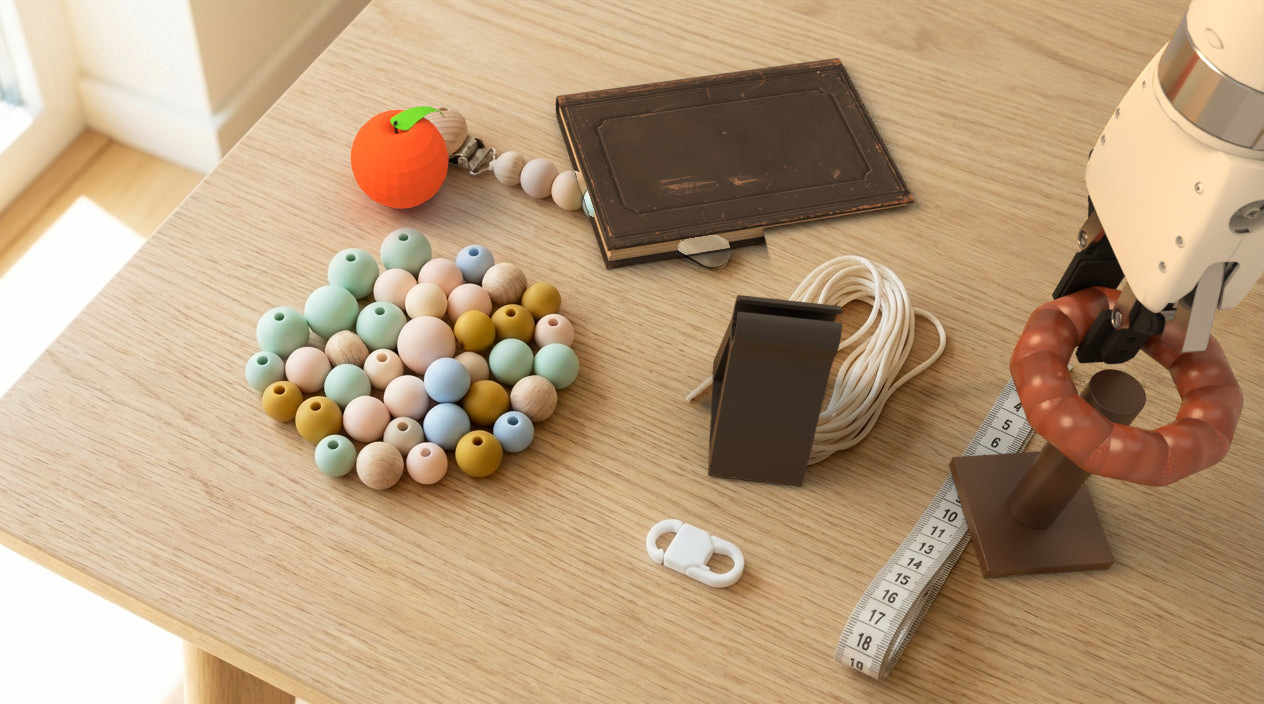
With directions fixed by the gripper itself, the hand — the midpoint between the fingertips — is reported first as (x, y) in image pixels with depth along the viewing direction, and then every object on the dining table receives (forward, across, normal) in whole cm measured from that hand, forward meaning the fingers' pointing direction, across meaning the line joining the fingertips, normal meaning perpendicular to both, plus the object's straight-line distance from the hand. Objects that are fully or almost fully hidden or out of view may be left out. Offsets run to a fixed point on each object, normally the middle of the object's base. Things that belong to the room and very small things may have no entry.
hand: (1091, 326), depth 68 cm
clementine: (+14, +26, +38) cm, 48 cm away
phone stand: (+14, +4, +16) cm, 22 cm away
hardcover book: (+14, +26, +14) cm, 33 cm away
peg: (+14, -4, 0) cm, 15 cm away
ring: (-1, -4, 0) cm, 4 cm away
